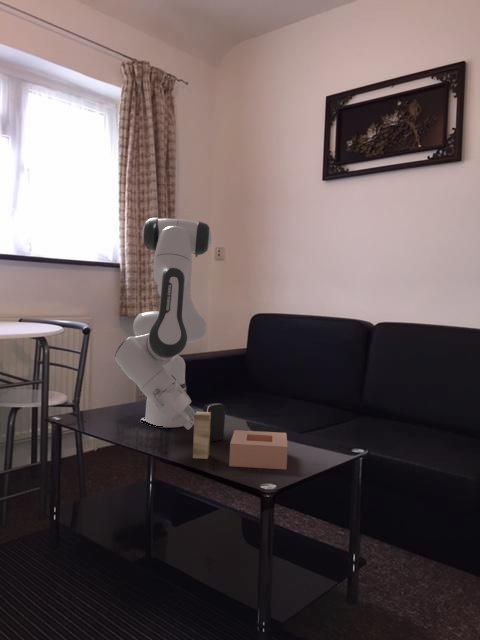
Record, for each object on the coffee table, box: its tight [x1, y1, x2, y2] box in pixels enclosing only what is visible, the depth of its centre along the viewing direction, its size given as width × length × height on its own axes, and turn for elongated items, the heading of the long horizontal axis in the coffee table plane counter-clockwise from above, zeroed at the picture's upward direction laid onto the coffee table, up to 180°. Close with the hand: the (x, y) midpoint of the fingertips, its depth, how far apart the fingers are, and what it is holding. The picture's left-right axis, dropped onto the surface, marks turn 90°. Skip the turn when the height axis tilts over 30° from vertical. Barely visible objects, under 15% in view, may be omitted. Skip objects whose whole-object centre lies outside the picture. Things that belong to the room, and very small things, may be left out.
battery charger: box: [202, 402, 226, 443], centre depth 167 cm, size 7×4×11 cm, turn 134°
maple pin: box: [192, 411, 211, 460], centre depth 149 cm, size 4×4×12 cm
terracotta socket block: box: [228, 429, 288, 470], centre depth 148 cm, size 15×15×6 cm
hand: (193, 423), depth 148 cm, fingers open, 8 cm apart
